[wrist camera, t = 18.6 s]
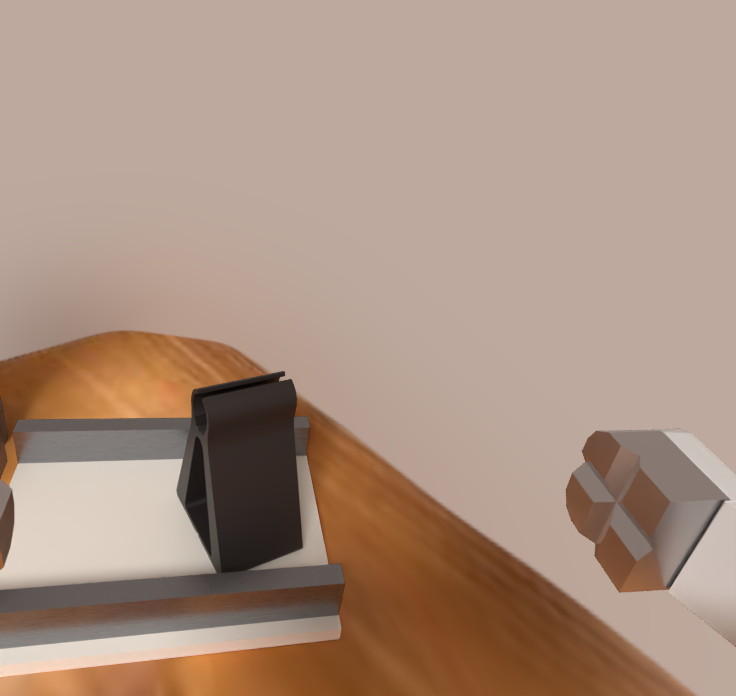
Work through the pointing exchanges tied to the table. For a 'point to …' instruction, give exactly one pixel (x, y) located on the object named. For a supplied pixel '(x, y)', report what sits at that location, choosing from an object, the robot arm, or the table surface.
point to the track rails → (153, 595)
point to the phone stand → (243, 472)
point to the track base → (132, 557)
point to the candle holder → (2, 424)
